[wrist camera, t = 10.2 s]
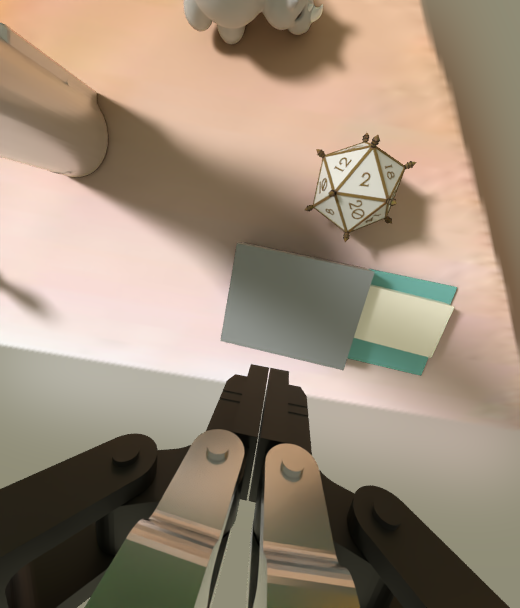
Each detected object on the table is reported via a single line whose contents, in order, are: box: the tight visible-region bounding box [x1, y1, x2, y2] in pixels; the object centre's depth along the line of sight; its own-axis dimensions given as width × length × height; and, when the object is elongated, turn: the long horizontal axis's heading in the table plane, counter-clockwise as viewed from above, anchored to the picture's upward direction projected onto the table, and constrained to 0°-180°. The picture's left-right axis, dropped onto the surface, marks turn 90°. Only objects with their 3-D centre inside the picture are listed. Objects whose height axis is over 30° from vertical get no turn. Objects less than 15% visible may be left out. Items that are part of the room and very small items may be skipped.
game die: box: [305, 133, 416, 242], centre depth 24 cm, size 9×8×10 cm
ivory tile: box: [354, 284, 454, 358], centre depth 29 cm, size 6×9×2 cm, turn 77°
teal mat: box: [347, 269, 457, 375], centre depth 30 cm, size 11×10×1 cm
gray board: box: [221, 243, 374, 370], centre depth 29 cm, size 11×14×4 cm
